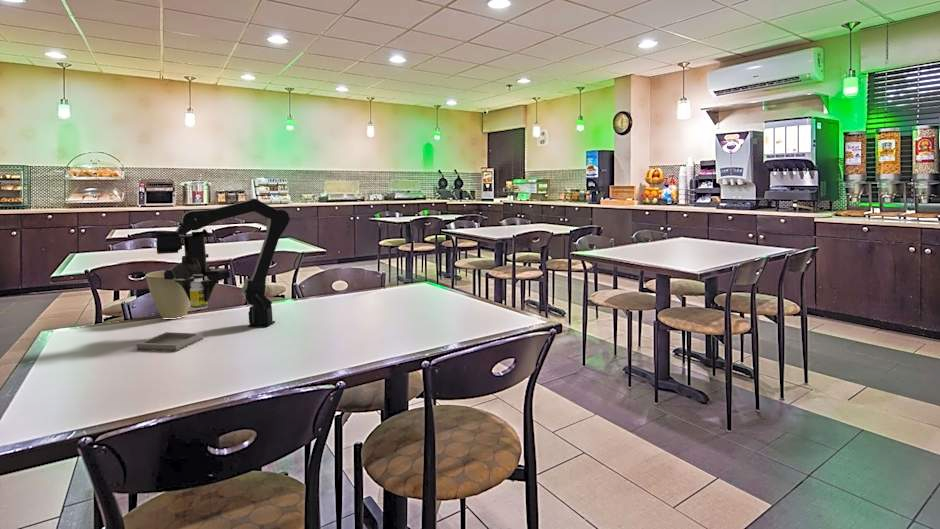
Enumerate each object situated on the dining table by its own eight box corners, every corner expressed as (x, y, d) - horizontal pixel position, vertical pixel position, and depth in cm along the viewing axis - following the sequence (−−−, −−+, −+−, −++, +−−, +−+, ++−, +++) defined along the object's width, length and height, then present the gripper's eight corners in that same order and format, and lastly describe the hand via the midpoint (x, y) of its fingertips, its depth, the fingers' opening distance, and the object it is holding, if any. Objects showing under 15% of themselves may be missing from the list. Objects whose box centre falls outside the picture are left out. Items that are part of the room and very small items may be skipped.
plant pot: (143, 318, 187) (138, 273, 185) (187, 310, 198) (184, 268, 196) (159, 325, 178) (155, 278, 175) (205, 316, 189) (201, 272, 186)
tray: (203, 339, 161) (202, 333, 161) (176, 351, 149) (175, 345, 149) (166, 338, 162) (166, 332, 162) (137, 350, 151) (136, 343, 150)
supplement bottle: (200, 310, 164) (198, 283, 163) (187, 309, 165) (185, 282, 164) (211, 306, 169) (209, 280, 168) (198, 306, 170) (196, 280, 169)
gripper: (148, 254, 158) (153, 306, 160) (207, 255, 155) (211, 308, 158) (174, 250, 169) (178, 298, 171) (229, 251, 166) (232, 300, 169)
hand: (199, 301), depth 167 cm, fingers closed on supplement bottle, 5 cm apart
